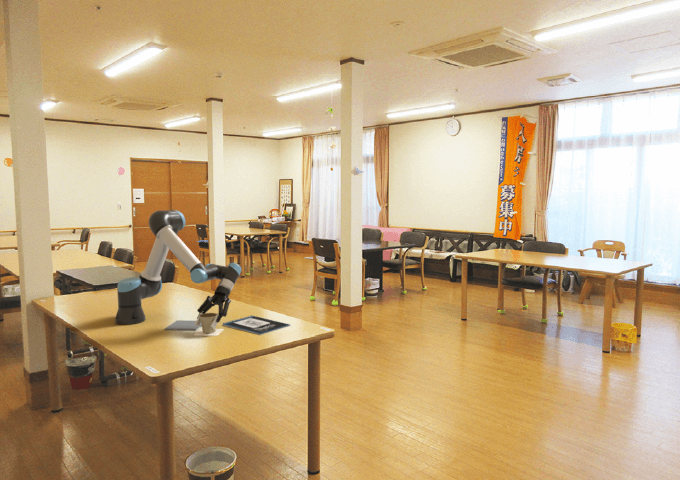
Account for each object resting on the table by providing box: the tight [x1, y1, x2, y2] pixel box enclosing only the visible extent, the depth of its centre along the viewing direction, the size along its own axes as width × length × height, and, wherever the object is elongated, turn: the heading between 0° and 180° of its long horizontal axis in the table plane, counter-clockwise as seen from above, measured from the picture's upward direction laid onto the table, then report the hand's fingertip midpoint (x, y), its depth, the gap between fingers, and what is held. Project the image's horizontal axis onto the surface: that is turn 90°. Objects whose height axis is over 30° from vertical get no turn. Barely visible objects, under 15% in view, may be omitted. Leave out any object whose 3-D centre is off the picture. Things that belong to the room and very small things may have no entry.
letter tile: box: [192, 328, 225, 337], centre depth 230 cm, size 12×12×1 cm
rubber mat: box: [164, 319, 202, 331], centre depth 242 cm, size 16×16×1 cm
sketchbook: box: [222, 315, 291, 336], centre depth 243 cm, size 22×30×2 cm
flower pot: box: [198, 312, 219, 333], centre depth 230 cm, size 9×9×9 cm
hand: (204, 326), depth 227 cm, fingers closed on flower pot, 9 cm apart
